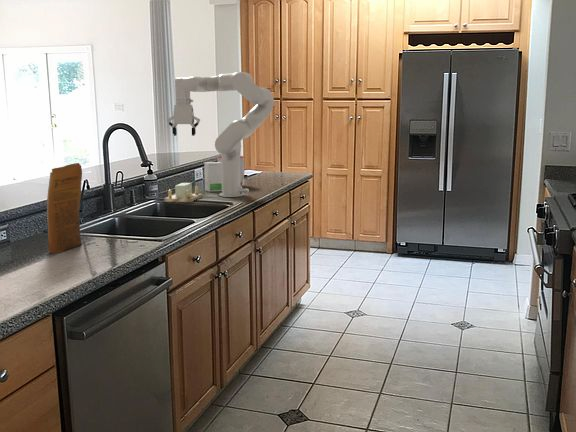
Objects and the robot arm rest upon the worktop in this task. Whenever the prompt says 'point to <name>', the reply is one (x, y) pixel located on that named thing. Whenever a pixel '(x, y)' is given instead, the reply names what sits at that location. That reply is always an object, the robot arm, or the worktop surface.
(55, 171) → the pancake mix bag
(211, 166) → the skincare box
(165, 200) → the mount plate
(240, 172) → the citrus juicer
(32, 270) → the worktop surface
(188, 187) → the block
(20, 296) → the worktop surface
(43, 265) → the worktop surface
